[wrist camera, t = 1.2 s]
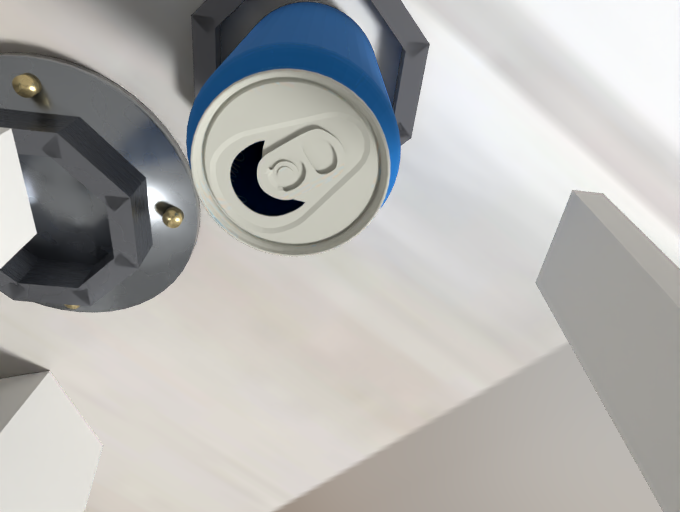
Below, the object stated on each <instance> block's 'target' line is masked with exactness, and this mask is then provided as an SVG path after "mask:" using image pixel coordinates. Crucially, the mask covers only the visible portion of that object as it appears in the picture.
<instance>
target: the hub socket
mask: <svg viewBox="0 0 680 512" xmlns="http://www.w3.org/2000/svg"><path fill="white" fill-rule="evenodd" d="M0 127H3V128H11V129H12V133H13V137H14V142H15V146H16V150H17V154H18V158H19V162H20V166H21V170H22V174H23V178H24V183H25V187H26V191H27V195H28V199H29V203H30V207H31V211H32V215H33V219H34V224H35V228H36V232H37V234H36V235H35V236H34V237H33V238H32V239H31V240H30V241H29V242H28V243H27V244H25V245H24V246H23V247H22V248H21V249H20V250H19V251H18V252H17V253H16V254H15V255H14V256H13V257H12V258H11V259H10V260H9V261H8V262H7V263H6V264H5V265H4V266H3V267H2V268H1V269H0V291H1V292H2V293H4V294H5V295H7V296H8V297H10V298H11V299H13V300H17V301H29V302H35V303H38V304H41V305H44V306H48V307H52V308H57V309H61V310H68V311H76V312H108V311H115V310H120V309H126V308H129V307H132V306H135V305H138V304H141V303H143V302H145V301H147V300H150V299H152V298H153V297H155V296H156V295H158V294H159V293H161V292H163V291H164V290H165V289H166V288H167V287H168V286H170V285H171V284H172V283H173V282H174V281H175V280H176V278H177V277H178V276H179V275H180V274H181V272H182V271H183V269H184V267H185V266H186V264H187V262H188V260H189V258H190V256H191V254H192V252H193V249H194V246H195V244H196V241H197V237H198V232H199V227H200V203H199V196H198V194H197V191H196V188H195V186H194V182H193V177H192V173H191V169H190V166H189V164H188V161H187V159H186V158H185V156H184V154H183V152H182V150H181V148H180V147H179V145H178V143H177V142H176V141H175V139H174V138H173V136H172V135H171V134H170V132H169V131H168V129H167V128H166V127H165V126H164V125H163V124H162V122H161V121H160V120H159V119H158V118H157V117H156V116H155V115H154V114H153V112H151V111H150V110H149V109H148V108H147V107H146V106H145V105H144V104H143V103H141V102H140V101H139V100H138V99H137V98H136V97H134V96H133V95H132V94H130V93H129V92H127V91H126V90H125V89H123V88H122V87H121V86H119V85H118V84H116V83H114V82H112V81H111V80H109V79H107V78H105V77H104V76H102V75H100V74H98V73H96V72H94V71H92V70H89V69H87V68H85V67H83V66H80V65H78V64H75V63H72V62H69V61H65V60H62V59H59V58H55V57H50V56H44V55H39V54H33V53H2V54H0Z"/></svg>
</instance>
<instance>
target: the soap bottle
mask: <svg viewBox="0 0 680 512" xmlns="http://www.w3.org/2000/svg"><path fill="white" fill-rule="evenodd" d="M103 446H104V445H103V444H102V442H101V441H100V440H99V438H98V437H97V435H96V434H95V433H94V431H93V430H92V428H91V427H90V426H89V424H88V423H87V422H86V420H85V419H84V417H83V416H82V415H81V413H80V412H79V410H78V409H77V408H76V406H75V405H74V403H73V402H72V401H71V399H70V398H69V396H68V395H67V394H66V392H65V391H64V389H63V388H62V387H61V385H60V384H59V383H58V381H57V380H56V378H55V377H54V376H53V374H52V373H51V371H45V372H39V373H33V374H26V375H20V376H14V377H8V378H2V379H0V512H85V508H86V505H87V501H88V498H89V494H90V491H91V487H92V484H93V481H94V477H95V474H96V470H97V467H98V463H99V460H100V456H101V453H102V449H103Z"/></svg>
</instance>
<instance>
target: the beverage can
mask: <svg viewBox="0 0 680 512" xmlns="http://www.w3.org/2000/svg"><path fill="white" fill-rule="evenodd" d="M186 144H187V155H188V160H189V165H190V169H191V173H192V177H193V182H194V186H195V188H196V191H197V194H198V196H199V198H200V200H201V202H202V204H203V206H204V207H205V209H206V210H207V212H208V213H209V215H210V216H211V217H212V218H213V220H214V221H215V222H216V223H217V224H218V225H219V226H220V227H221V228H222V229H223V230H224V231H226V232H227V233H228V234H229V235H231V236H232V237H234V238H235V239H236V240H238V241H240V242H242V243H243V244H245V245H247V246H249V247H252V248H254V249H256V250H259V251H262V252H266V253H269V254H274V255H280V256H291V257H297V256H309V255H316V254H320V253H324V252H327V251H330V250H332V249H335V248H337V247H340V246H341V245H343V244H345V243H347V242H349V241H350V240H352V239H353V238H354V237H356V236H357V235H358V234H360V233H361V232H362V231H363V230H364V229H365V228H366V227H367V226H368V225H369V223H370V222H371V221H372V220H373V219H374V217H375V216H376V214H377V213H378V211H379V210H380V208H381V207H382V206H383V204H384V203H385V201H386V200H387V198H388V196H389V194H390V192H391V190H392V188H393V186H394V183H395V180H396V177H397V173H398V169H399V163H400V152H401V143H400V135H399V129H398V125H397V121H396V117H395V114H394V111H393V108H392V105H391V102H390V99H389V96H388V93H387V90H386V87H385V84H384V81H383V78H382V75H381V72H380V69H379V66H378V63H377V60H376V57H375V54H374V51H373V49H372V46H371V44H370V42H369V40H368V38H367V36H366V35H365V33H364V32H363V31H362V29H361V28H360V27H359V26H358V25H357V24H356V23H355V22H354V21H353V20H352V19H351V18H350V17H349V16H347V15H346V14H345V13H343V12H341V11H339V10H338V9H336V8H333V7H331V6H328V5H325V4H321V3H315V2H297V3H292V4H288V5H285V6H282V7H280V8H278V9H276V10H274V11H272V12H270V13H269V14H268V15H266V16H265V17H264V18H263V19H262V20H261V21H260V22H259V23H258V24H257V25H256V26H255V27H254V28H253V29H252V30H251V31H250V32H249V34H248V35H247V36H246V37H245V38H244V39H243V40H242V41H241V43H240V44H239V45H238V46H237V47H236V48H235V49H234V50H233V51H232V53H231V54H230V55H229V56H228V57H227V58H226V59H225V60H224V61H223V63H222V64H221V65H220V66H219V67H218V68H217V69H216V70H215V72H214V73H213V74H212V75H211V76H210V77H209V79H208V80H207V81H206V83H205V84H204V85H203V87H202V88H201V90H200V92H199V93H198V95H197V97H196V99H195V101H194V104H193V107H192V109H191V112H190V116H189V121H188V126H187V140H186Z"/></svg>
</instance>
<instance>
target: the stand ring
mask: <svg viewBox="0 0 680 512" xmlns="http://www.w3.org/2000/svg"><path fill="white" fill-rule="evenodd" d="M244 1H245V0H206V1H205V2H204V3H203V4H202V5H201V6H200V7H199V8H198V9H197V10H196V11H195V12H194V13H193V14H192V15H191V16H192V39H193V64H194V88H195V99H196V97H197V95H198V93H199V92H200V90H201V88H202V87H203V85H204V84H205V83H206V81H207V80H208V79H209V77H210V76H211V75H212V74H213V73H214V72H215V70H216V69H217V68H218V67H219V66H220V65H221V37H220V24H221V23H222V22H223V21H224V20H225V19H226V18H227V17H228V16H229V15H230V14H231V13H233V12H234V11H235V10H236V9H237V8H238V7H239V6H240V5H241V4H242V3H243V2H244ZM371 1H372V3H373V4H374V6H375V7H376V8H377V10H378V11H379V13H380V14H381V16H382V17H383V19H384V20H385V22H386V23H387V25H388V26H389V28H390V29H391V30H392V32H393V33H394V35H395V36H396V38H397V39H398V41H399V42H400V44H401V45H402V47H403V48H402V54H401V60H400V66H399V71H398V77H397V83H396V89H395V95H394V101H393V107H392V108H393V111H394V114H395V117H396V121H397V125H398V129H399V135H400V143H401V145H402V144H404V143H405V142H406V141H408V140H409V139H411V136H412V131H413V126H414V120H415V115H416V110H417V105H418V100H419V95H420V90H421V85H422V80H423V75H424V70H425V65H426V59H427V54H428V49H429V45H430V44H429V43H428V41H427V40H426V38H425V37H424V35H423V34H422V32H421V31H420V29H419V27H418V26H417V24H416V23H415V21H414V20H413V18H412V17H411V15H410V14H409V12H408V11H407V9H406V8H405V6H404V4H403V3H402V1H401V0H371Z"/></svg>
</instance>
